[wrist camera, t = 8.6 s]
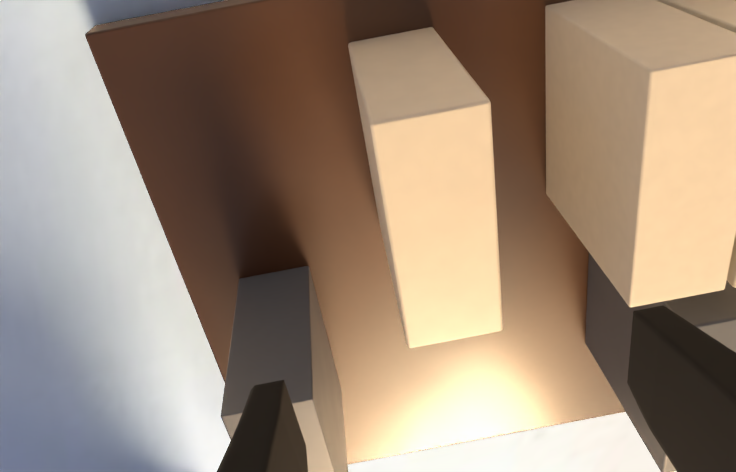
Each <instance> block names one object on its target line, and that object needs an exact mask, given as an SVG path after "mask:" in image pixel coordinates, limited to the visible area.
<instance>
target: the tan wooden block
mask: <svg viewBox="0 0 736 472" xmlns="http://www.w3.org/2000/svg"><path fill="white" fill-rule="evenodd" d="M348 48H349V54H350V59H351V65H352V71H353V76H354V82H355V88H356V93H357V99H358V105H359V110H360V116H361V122H362V127H363V133H364V139H365V144H366V150H367V155H368V161H369V167H370V172H371V178H372V184H373V189H374V195H375V201H376V206H377V212H378V218H379V223H380V228H381V232H382V237H383V241H384V246H385V250H386V255H387V259H388V263H389V268H390V272H391V277H392V281H393V286H394V290H395V295H396V299H397V303H398V308H399V312H400V317H401V321H402V326H403V330H404V335H405V339H406V343H407V346H408V347H409V348H414V347H419V346H425V345H430V344H435V343H440V342H446V341H451V340H456V339H461V338H467V337H472V336H477V335H482V334H488V333H493V332H498V331H501V330H502V329H503V318H502V300H501V282H500V263H499V245H498V227H497V209H496V191H495V173H494V155H493V137H492V119H491V102H490V100H489V99H488V97H487V96H486V95H485V94H484V92H483V91H482V90H481V89H480V87H479V86H478V85H477V83H476V82H475V81H474V80H473V78H472V77H471V76H470V74H469V73H468V72H467V71H466V69H465V68H464V67H463V66H462V64H461V63H460V62H459V60H458V59H457V58H456V57H455V55H454V54H453V53H452V51H451V50H450V49H449V48H448V46H447V45H446V44H445V43H444V41H443V40H442V39H441V37H440V36H439V35H438V34H437V32H436V31H435V30H434V28H432V27H428V28H423V29H418V30H412V31H407V32H402V33H397V34H391V35H386V36H381V37H376V38H370V39H365V40H360V41H355V42H350V43H349V45H348Z"/></svg>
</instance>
